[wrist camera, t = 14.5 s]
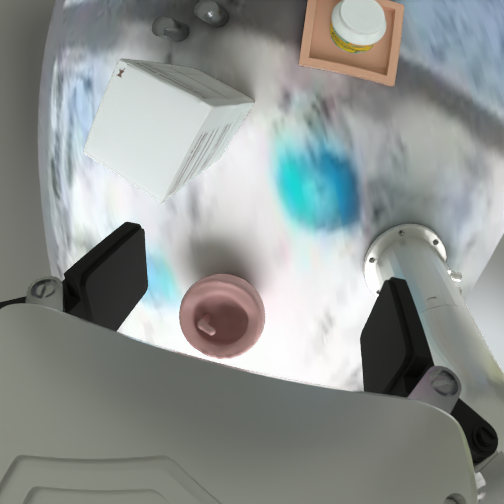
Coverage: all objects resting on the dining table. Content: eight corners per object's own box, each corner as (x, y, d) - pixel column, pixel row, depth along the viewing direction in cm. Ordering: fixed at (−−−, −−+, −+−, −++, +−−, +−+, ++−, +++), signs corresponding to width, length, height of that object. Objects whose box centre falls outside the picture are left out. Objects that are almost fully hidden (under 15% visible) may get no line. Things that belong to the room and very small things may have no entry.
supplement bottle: (381, 28, 25) (402, 8, 17) (363, 62, 28) (379, 51, 20) (340, 7, 25) (346, -21, 17) (321, 41, 28) (322, 21, 20)
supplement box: (161, 126, 37) (78, 153, 23) (193, 66, 33) (115, 55, 18) (220, 162, 38) (161, 208, 24) (258, 101, 34) (215, 105, 19)
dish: (400, 8, 24) (404, 5, 22) (390, 86, 29) (394, 86, 28) (310, -13, 25) (310, -17, 23) (299, 65, 30) (298, 64, 29)
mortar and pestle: (275, 265, 44) (261, 317, 34) (266, 326, 50) (253, 379, 40) (195, 252, 46) (163, 297, 36) (197, 312, 52) (172, 360, 42)
